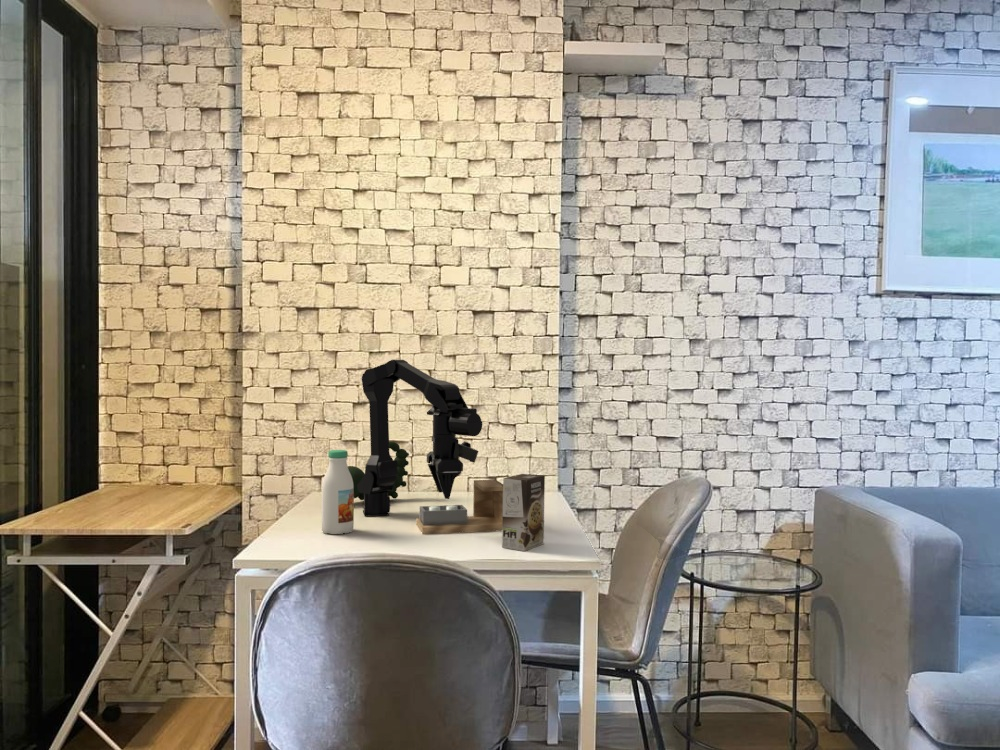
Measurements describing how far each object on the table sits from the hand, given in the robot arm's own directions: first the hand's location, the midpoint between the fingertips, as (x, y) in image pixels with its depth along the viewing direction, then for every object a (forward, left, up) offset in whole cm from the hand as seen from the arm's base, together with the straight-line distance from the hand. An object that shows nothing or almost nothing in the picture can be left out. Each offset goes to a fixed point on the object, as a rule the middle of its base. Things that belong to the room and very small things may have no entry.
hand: (443, 495), depth 198 cm
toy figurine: (-16, +38, -9) cm, 42 cm away
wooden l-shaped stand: (+5, 0, -8) cm, 10 cm away
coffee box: (+15, -21, -9) cm, 27 cm away
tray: (0, 0, -7) cm, 7 cm away
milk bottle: (-26, +2, -9) cm, 28 cm away
